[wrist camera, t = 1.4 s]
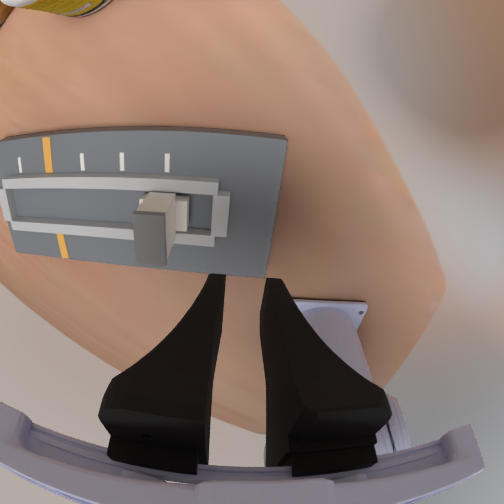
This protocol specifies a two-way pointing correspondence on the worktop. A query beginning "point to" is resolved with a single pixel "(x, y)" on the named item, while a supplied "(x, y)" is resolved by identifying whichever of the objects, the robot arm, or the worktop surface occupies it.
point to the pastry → (4, 11)
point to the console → (144, 181)
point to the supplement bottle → (60, 6)
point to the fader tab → (158, 226)
